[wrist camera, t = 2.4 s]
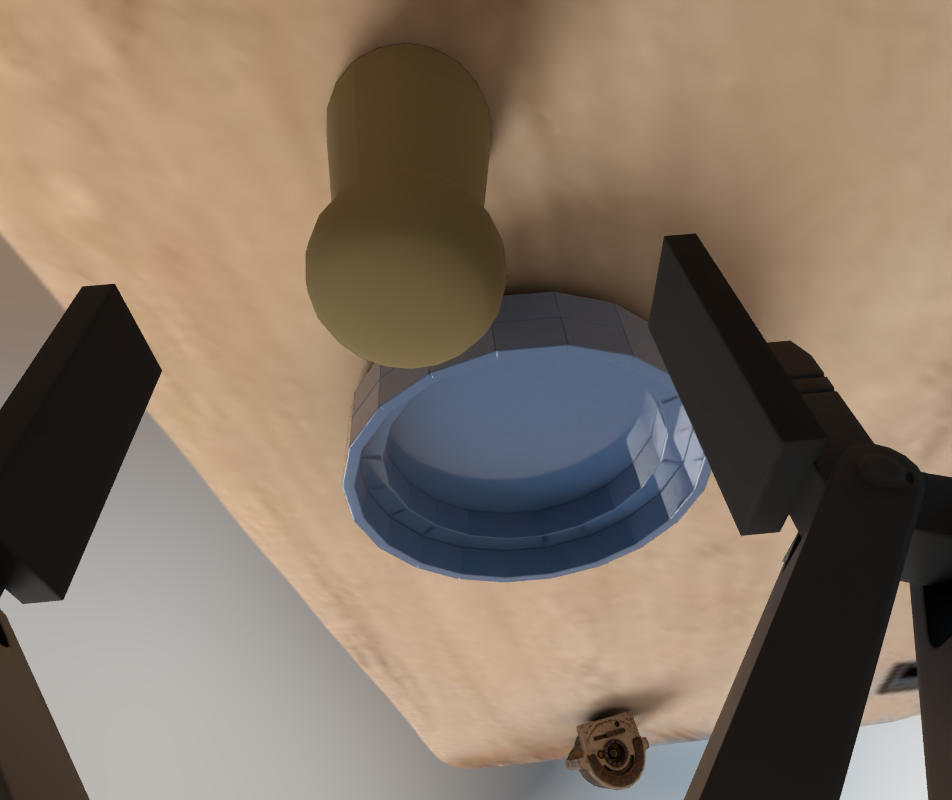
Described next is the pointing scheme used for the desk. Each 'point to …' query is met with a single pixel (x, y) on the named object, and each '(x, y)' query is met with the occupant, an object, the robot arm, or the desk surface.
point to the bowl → (525, 447)
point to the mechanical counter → (609, 752)
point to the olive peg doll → (407, 212)
